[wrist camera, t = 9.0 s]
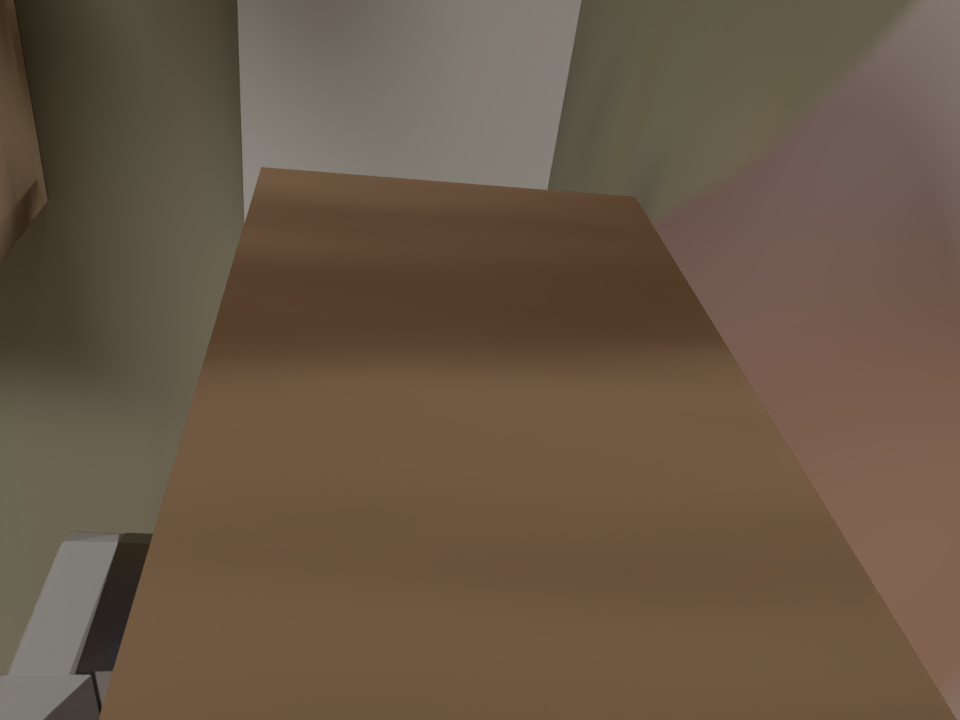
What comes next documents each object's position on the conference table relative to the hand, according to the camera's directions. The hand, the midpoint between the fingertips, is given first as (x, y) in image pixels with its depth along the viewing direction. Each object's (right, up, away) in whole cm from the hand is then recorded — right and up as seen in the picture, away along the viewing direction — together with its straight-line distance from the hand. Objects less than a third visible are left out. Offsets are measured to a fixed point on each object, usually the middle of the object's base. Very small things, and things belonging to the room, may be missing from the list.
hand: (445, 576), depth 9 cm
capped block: (0, +2, +3) cm, 3 cm away
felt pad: (-2, +12, +17) cm, 21 cm away
